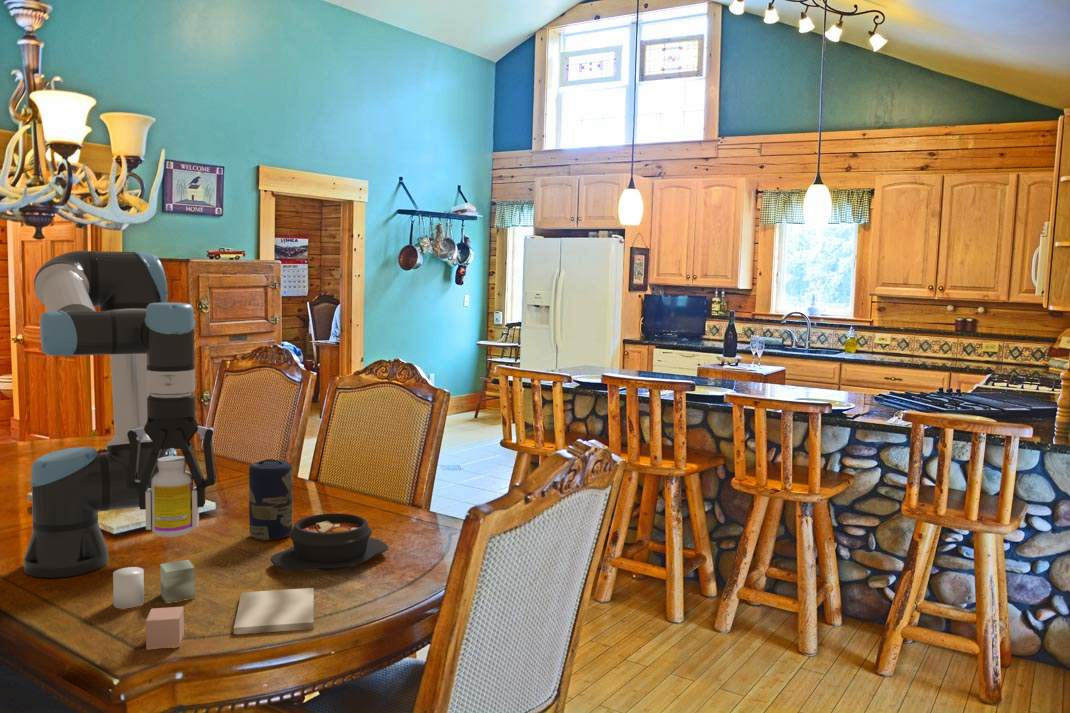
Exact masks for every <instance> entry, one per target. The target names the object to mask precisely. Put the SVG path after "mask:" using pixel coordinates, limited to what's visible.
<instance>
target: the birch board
mask: <svg viewBox="0 0 1070 713" xmlns="http://www.w3.org/2000/svg"><path fill="white" fill-rule="evenodd" d="M314 590H315V589H314V587H306V588H291V589H290V588H288V589H278V590H277V589H275V590H260V591H243V592H241V594H240V598H239V602H238V605H237V606H238V607H237V612H236V616H235V620H234V625H233V635H234V634H236V635H246V634H247V635H249V633H250V634H260V632H261V634H262V632H263V633H273V632H288V631H289V632H291V631H301V630H303V631H305V630H314V626H315V625H314V616H315V615H314V614H315V612H314V607H315V606H314V605H315V604H314V603H315V602H314V599H315V598H314V595H315V592H314ZM290 630H291V631H290Z"/></svg>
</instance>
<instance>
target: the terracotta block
mask: <svg viewBox="0 0 1070 713" xmlns="http://www.w3.org/2000/svg"><path fill="white" fill-rule="evenodd" d="M184 610H185V608H184V606H174V607H173V606H171V607H170V606H169V607H158V608H157V607H156V608H151V609H150V610H149V613H148V616H147V617H146V620H145V642H146V643H145V645H146V646H145V648H150V647H151V648H153V647H163V646H171V645H174V646H175V645H180V643H181V640H182V637H183V635H184V636H185V611H184ZM183 638H184V637H183ZM182 641H183V640H182ZM181 644H182V643H181Z"/></svg>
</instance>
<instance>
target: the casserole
mask: <svg viewBox="0 0 1070 713" xmlns="http://www.w3.org/2000/svg"><path fill="white" fill-rule="evenodd" d="M372 534H373V530H372V528H371V527H370V526H369V523H368V521H367V519H366V518H365V517H363V516H359V515H356V514H350V513H337V512H336V513H332V512H331V513H321V514H313V515H310V516H306V517H303V518H301V519H299V520H297V521H296V522H294V525H293V527H292V531H291V532H290V533H289V535H288V536H289V538H290V540H291V541H292V545H293V546H291V547H288V548H287V549H285V550H282V551H280V552H277V553H274V554H273V555H272V556H271V557H270V561H271V563H272V564H273V565H274V566H276V567H278V568H281V569H284V570H288V571H290V572H292V571H293V572H303V571H313V570H322V571H331V570H333V571H334V570H341V569H346V568H349V567H352V566H356V565H360V564H362V563H365V562H367V561H369V560H370V559H373V558H374V557H375V556H378V555H380V554H382V553H385V552H386V551H387V550H388V549H389V546H388V545H387V543H385V542H384V541H383V540H380V539H378V538H374V537H371V536H372Z"/></svg>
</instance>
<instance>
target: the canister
mask: <svg viewBox="0 0 1070 713" xmlns="http://www.w3.org/2000/svg"><path fill="white" fill-rule="evenodd" d="M248 482H249V483H248V491H249V492H248V494H249V495H248V496H249V498H248V499H249V501H248V515H249V516H248V517H249V518H248V519H249V520H248V521H249V534H250V536H251V537H253V538H254V539H257V540H263V541H271V540H272V541H273V540H279V539H282V538H286V537H288V536H289V533H290V532H291V531H292V530H293V527H294V525H293V497H294V496H293V494H294V493H293V484H294V483H293V466H292V464H291V463H290V462H289V461H286V460H280V459H274V458H268V459H263V460H260V461H257V462H256V461H255V462H254V463H251V465H249V467H248Z"/></svg>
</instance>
